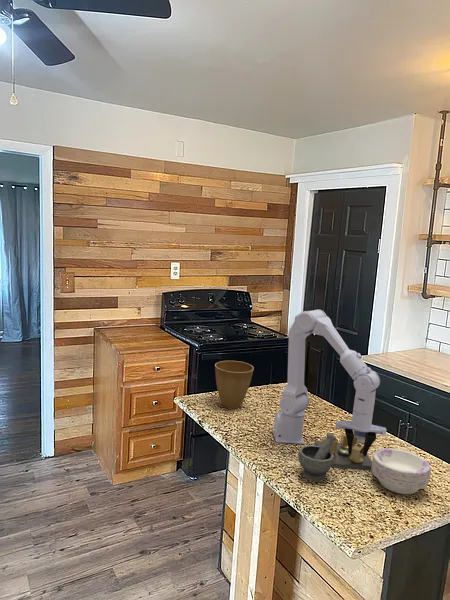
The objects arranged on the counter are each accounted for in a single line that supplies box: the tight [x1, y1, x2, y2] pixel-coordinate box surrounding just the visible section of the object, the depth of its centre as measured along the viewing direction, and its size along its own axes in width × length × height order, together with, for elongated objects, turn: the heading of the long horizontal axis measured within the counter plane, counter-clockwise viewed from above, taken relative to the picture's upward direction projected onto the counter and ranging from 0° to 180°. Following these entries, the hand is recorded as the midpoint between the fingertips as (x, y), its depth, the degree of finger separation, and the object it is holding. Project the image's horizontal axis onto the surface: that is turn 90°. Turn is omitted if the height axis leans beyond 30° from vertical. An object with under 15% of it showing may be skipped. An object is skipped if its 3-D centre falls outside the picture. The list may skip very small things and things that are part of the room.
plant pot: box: [214, 360, 255, 410], centre depth 180 cm, size 15×15×16 cm
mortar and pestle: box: [298, 432, 337, 483], centre depth 132 cm, size 11×9×12 cm
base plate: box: [314, 440, 372, 471], centre depth 146 cm, size 15×15×2 cm
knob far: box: [339, 432, 358, 450], centre depth 150 cm, size 4×4×4 cm
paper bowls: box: [370, 448, 431, 495], centre depth 131 cm, size 15×15×8 cm
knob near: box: [349, 443, 364, 463], centre depth 142 cm, size 4×4×4 cm
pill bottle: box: [353, 422, 373, 444], centre depth 160 cm, size 5×5×10 cm
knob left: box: [321, 436, 339, 454], centre depth 146 cm, size 4×4×4 cm
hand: (357, 453), depth 142 cm, fingers closed on knob near, 4 cm apart
